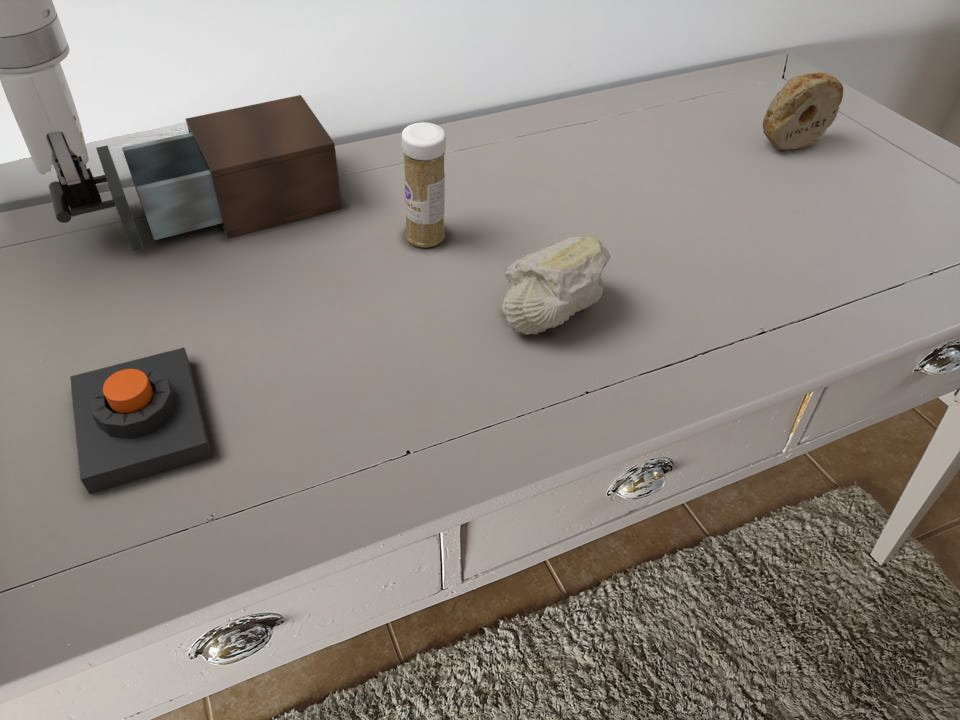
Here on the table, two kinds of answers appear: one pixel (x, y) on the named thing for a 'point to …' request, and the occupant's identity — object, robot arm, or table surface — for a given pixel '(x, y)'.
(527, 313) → the fossil replica
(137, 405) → the button
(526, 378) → the table surface
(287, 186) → the drawer cabinet
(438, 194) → the sprinkles bottle
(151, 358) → the control block
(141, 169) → the grey drawer
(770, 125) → the stone disc
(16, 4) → the robot arm
